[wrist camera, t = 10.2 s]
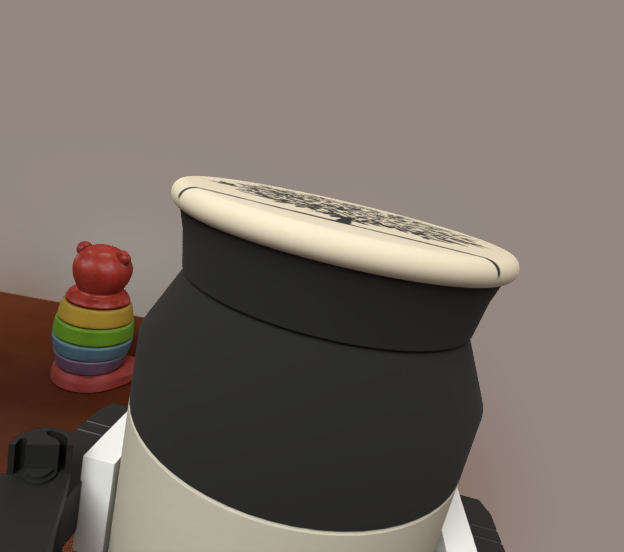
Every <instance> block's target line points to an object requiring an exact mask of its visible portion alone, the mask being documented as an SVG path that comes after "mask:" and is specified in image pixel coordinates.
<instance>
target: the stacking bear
mask: <svg viewBox="0 0 624 552" xmlns="http://www.w3.org/2000/svg"><path fill="white" fill-rule="evenodd" d="M77 252H78V254H77V256H76V257H75V259H74V262H73V276H74V280H75V282H76V285H74V286H72V287H71V288H70V289H69V290H68V291H67V292H66V295H65V296H64V297H63V299H62V301H61V303H60V305H59V308H58V312H57V313H56V316H55V319H54V322H53V327H52V344H53V350H54V357H55V360H54V361H53V363H52V366H51V370H50V379H51V380H52V382H53V383H54V384H55V385H57V386H58V387H60V388H62V389H65V390H68V391H72V392H79V393H95V392H102V391H106V390H111V389H114V388H117V387H120V386H122V385H125V384H127V383H129V382H131V381H132V375H133V368H134V361H135V357H132V356H128V355H127V352H128V350H129V349H130V346H131V343H132V339H133V334H134V319H133V309H132V308H133V307H132V303H131V301H130V296H129V294H128V293H127V292H126V291H125V290H124V287H125V286H126V285H127V284H128V282H129V280H130V278H131V275H132V272H133V267H132V263H131V257H130V255H129V254H128V253H127V252H126V251H123V250H120V249H118V248H116V247H113V246H110V245H104V244H96V245H92V244H91V243H89V242H87V241H83V242H80V243H79V244H78V246H77Z"/></svg>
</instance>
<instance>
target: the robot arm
mask: <svg viewBox="0 0 624 552" xmlns="http://www.w3.org/2000/svg"><path fill="white" fill-rule="evenodd" d="M127 411H128V407H127V406H124V405H120V404H116V403H112V404H110V405H108V406H105V407H103V408H101V409H99V410H97V411H96V412H95V413H94V414H93V415H92V416H90V417H89V418H88V419H87V421H86V422H84V423H83V424H82V425H80V426H79V427H78V429H77V430H75V431H74V432H73V433H71V434H70V433H69V432H66V431H64V430H62V429H58V428H50V427H48V428H37V429H33V430H30V431H26V432H24V433H22V434H20V435H19V436H17V437H15V438H14V439H13V440H12V442H11V443H10V444H9V451H8V466H7V473H4V474H0V552H62V547H63V546H64V545H65V543H66V542H67V541H68V540H69V538H70V537H71V536H72V535H73V533H74V540H73V548H72V550H73V551H77V552H106V551H107V550H108V547H109V540H110V533H111V525H112V518H113V511H114V504H115V497H116V490H117V482H118V475H119V468H120V461H121V454H122V447H123V439H124V432H125V425H126V418H127ZM434 552H505V551H504V548H503V546H502V545H501V540H500V538H499V535H498V533H497V532H496V527H495V525H494V522H493V519H492V517H491V515H490V513H489V512H488V511H487V510H486V508H485V507H484V506H483V504H482V503H481V502H480V501H479V500H477V499H473V498H470V497H466V496H462V495H459V492H458V488H456V491H455V494H454V496H453V499H452V502H451V505H450V508H449V510H448V513H447V516H446V519H445V522H444V524H443V527H442V530H441V533H440V536H439V538H438V541H437V544H436V547H435V550H434Z"/></svg>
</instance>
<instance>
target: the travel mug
mask: <svg viewBox="0 0 624 552" xmlns="http://www.w3.org/2000/svg"><path fill="white" fill-rule="evenodd" d="M171 195H172V199H173V201H174V202H175V204H176V205H177V206H178V207H179V208H180V210H181V217H182V226H183V257H182V259H183V260H182V267H183V269H182V270H181V272H180V273H179V274H178V275H177V277H176V278H175V279H174V280H173V282H172V283H171V284H170V286H169V287H168V288H167V289H166V291H165V292H164V293H163V295H162V296H161V297H160V298H159V300H158V301H157V302H156V303H155V305H154V306H153V307H152V308H151V310H150V311H149V312H148V314H147V315H146V316H145V318H144V319H143V321H142V323H141V325H140V328H139V332H138V339H137V346H136V353H135V361H134V368H133V375H132V382H131V389H130V396H129V404H128V411H127V418H126V425H125V432H124V439H123V447H122V454H121V461H120V468H119V475H118V482H117V490H116V497H115V504H114V511H113V518H112V525H111V533H110V540H109V547H108V552H434V550H435V547H436V544H437V541H438V538H439V536H440V533H441V530H442V527H443V524H444V522H445V519H446V516H447V513H448V510H449V508H450V505H451V502H452V499H453V496H454V494H455V491H456V488H457V485H458V483H459V480H460V477H461V474H462V471H463V468H464V465H465V463H466V460H467V457H468V455H469V452H470V449H471V446H472V443H473V441H474V438H475V435H476V432H477V429H478V426H479V424H480V421H481V418H482V413H483V403H482V397H481V393H480V387H479V382H478V377H477V372H476V367H475V362H474V356H473V351H472V346H471V341H470V339H471V337H472V335H473V334H474V332H475V330H476V328H477V326H478V324H479V322H480V320H481V318H482V316H483V314H484V312H485V310H486V308H487V306H488V304H489V302H490V301H491V300H492V298H493V297H494V295H495V294H496V293H497V291H498V290H499V288H500V287H501V286H503V285H507V284H509V283H510V282H512V281H513V280H515V278H516V277H517V275H518V273H519V269H520V266H519V263H518V261H517V259H516V258H515V257H514V256H513V255H512V254H511V253H509V252H507V251H506V250H504V249H502V248H500V247H497V246H495V245H493V244H490V243H488V242H485V241H483V240H480V239H477V238H474V237H471V236H468V235H466V234H463V233H459V232H456V231H453V230H450V229H447V228H443V227H440V226H437V225H433V224H430V223H426V222H423V221H419V220H416V219H412V218H408V217H405V216H401V215H397V214H394V213H390V212H386V211H382V210H378V209H374V208H370V207H366V206H362V205H358V204H354V203H349V202H345V201H341V200H336V199H332V198H327V197H323V196H319V195H314V194H309V193H304V192H300V191H295V190H290V189H285V188H280V187H275V186H269V185H263V184H258V183H252V182H246V181H240V180H233V179H225V178H216V177H206V176H188V177H183V178H180V179H178V180H177V181H176V182H175V183H174V184H173V186H172V191H171Z"/></svg>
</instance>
